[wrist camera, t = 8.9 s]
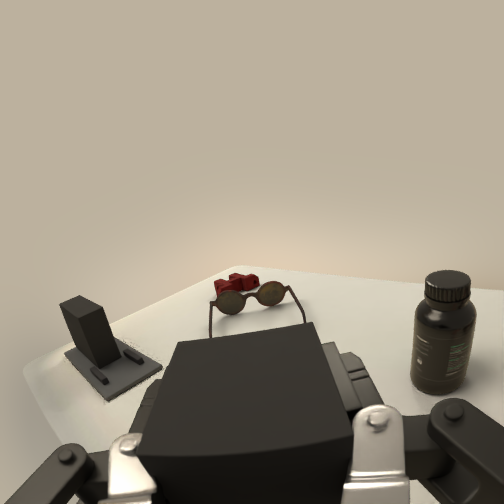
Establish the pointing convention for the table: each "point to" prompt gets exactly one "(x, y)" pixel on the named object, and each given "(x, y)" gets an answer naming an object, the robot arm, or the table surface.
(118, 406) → the table surface
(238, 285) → the bracket
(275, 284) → the eyeglasses
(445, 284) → the supplement bottle
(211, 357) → the black rectangular box
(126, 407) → the table surface
